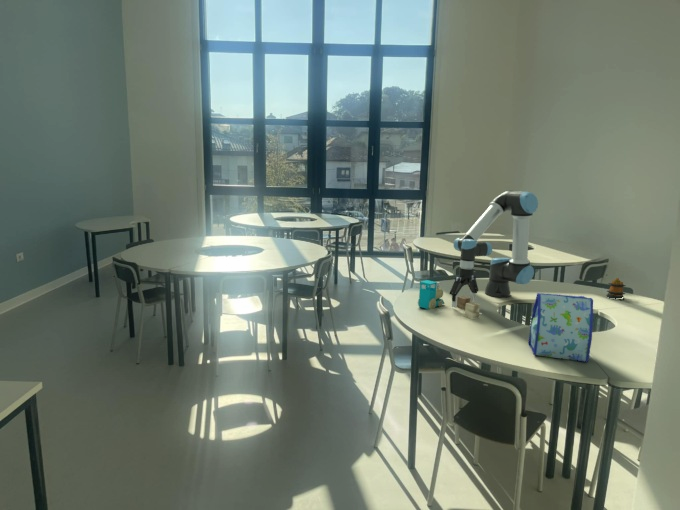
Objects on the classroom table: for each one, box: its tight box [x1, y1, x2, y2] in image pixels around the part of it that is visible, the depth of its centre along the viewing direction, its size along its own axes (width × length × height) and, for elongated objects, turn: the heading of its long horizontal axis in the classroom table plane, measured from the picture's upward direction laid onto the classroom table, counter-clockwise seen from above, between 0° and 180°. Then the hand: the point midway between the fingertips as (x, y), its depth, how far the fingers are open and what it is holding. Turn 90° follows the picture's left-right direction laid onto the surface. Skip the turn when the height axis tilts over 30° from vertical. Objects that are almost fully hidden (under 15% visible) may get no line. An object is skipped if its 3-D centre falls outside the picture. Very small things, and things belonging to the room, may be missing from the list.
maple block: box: [464, 301, 481, 320], centre depth 242 cm, size 5×5×7 cm
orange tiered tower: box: [606, 277, 627, 299], centre depth 294 cm, size 13×10×12 cm
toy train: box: [417, 279, 445, 310], centre depth 261 cm, size 8×17×15 cm, turn 136°
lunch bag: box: [528, 292, 594, 363], centre depth 199 cm, size 22×17×26 cm
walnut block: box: [457, 295, 471, 310], centre depth 258 cm, size 5×5×7 cm
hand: (462, 305), depth 258 cm, fingers open, 13 cm apart
